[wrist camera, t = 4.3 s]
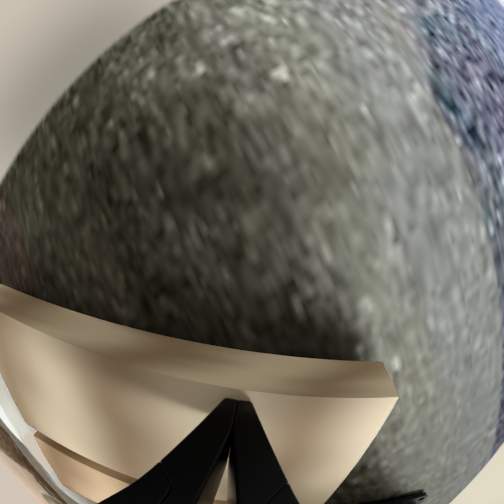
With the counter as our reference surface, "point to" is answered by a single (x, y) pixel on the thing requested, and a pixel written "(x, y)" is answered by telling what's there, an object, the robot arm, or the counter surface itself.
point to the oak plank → (183, 394)
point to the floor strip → (84, 472)
